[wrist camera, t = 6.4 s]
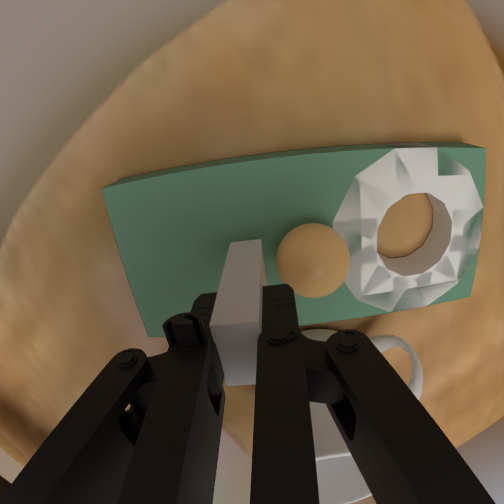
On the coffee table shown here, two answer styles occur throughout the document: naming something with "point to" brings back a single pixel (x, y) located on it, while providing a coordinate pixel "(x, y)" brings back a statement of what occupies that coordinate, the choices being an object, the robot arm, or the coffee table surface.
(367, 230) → the putting strip
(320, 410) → the mug
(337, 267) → the ball
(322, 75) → the coffee table surface
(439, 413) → the coffee table surface
